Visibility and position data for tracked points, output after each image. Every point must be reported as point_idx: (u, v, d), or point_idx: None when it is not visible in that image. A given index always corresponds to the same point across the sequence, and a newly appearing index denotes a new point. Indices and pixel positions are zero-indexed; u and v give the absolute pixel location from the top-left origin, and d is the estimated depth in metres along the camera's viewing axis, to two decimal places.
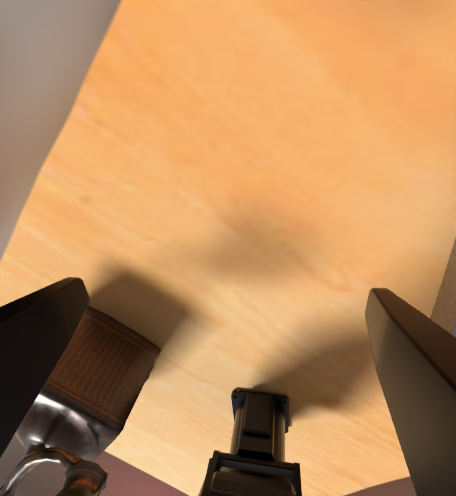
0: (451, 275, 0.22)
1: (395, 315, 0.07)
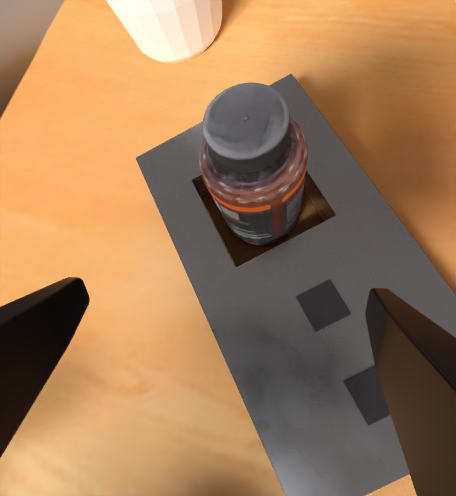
0: None
1: (395, 315, 0.07)
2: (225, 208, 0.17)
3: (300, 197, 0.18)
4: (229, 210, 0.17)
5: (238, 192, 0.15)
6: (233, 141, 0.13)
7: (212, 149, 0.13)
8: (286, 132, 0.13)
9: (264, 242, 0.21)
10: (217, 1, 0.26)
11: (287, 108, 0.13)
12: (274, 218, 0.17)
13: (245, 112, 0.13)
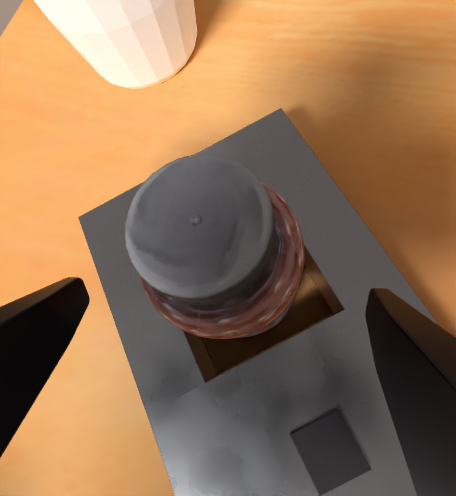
0: None
1: (395, 315, 0.07)
2: None
3: (294, 296, 0.12)
4: None
5: (193, 322, 0.09)
6: (173, 263, 0.07)
7: (139, 273, 0.07)
8: (267, 249, 0.07)
9: (247, 336, 0.16)
10: (188, 15, 0.21)
11: (268, 204, 0.07)
12: (256, 331, 0.12)
13: (197, 209, 0.07)
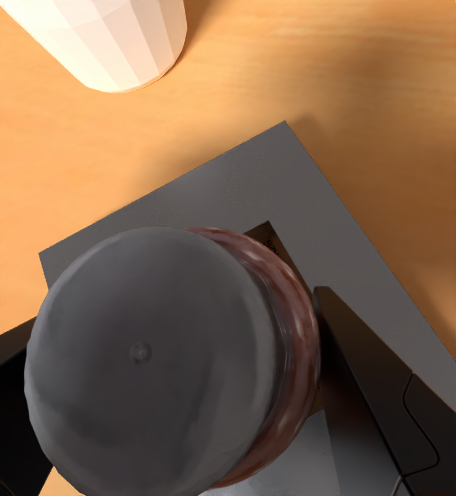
0: None
1: (326, 312, 0.07)
2: None
3: None
4: None
5: None
6: (97, 438, 0.04)
7: (42, 442, 0.04)
8: (264, 417, 0.04)
9: None
10: (174, 7, 0.18)
11: (267, 331, 0.04)
12: None
13: (143, 332, 0.04)
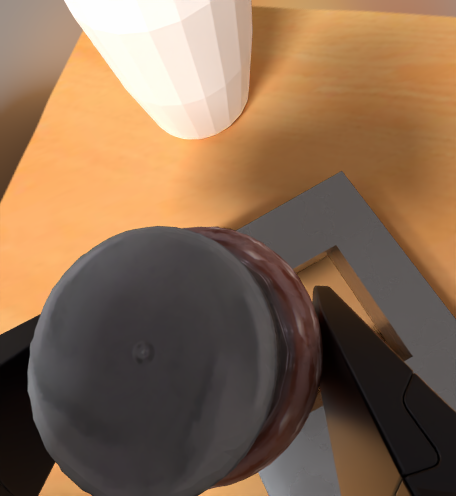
0: None
1: (326, 312, 0.07)
2: None
3: None
4: None
5: None
6: (100, 436, 0.04)
7: (46, 441, 0.04)
8: (266, 416, 0.04)
9: None
10: (247, 78, 0.23)
11: (269, 331, 0.04)
12: None
13: (145, 332, 0.04)
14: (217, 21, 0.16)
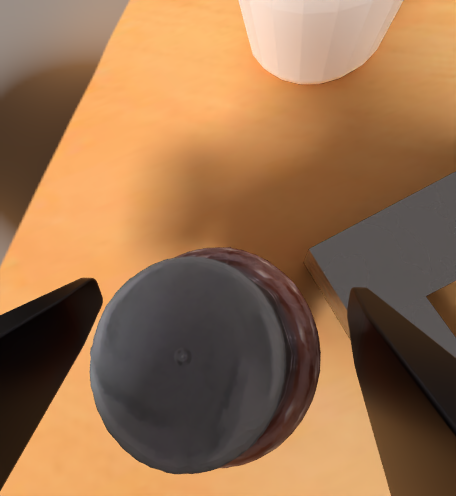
0: None
1: (371, 314, 0.07)
2: None
3: None
4: None
5: None
6: (151, 421, 0.05)
7: (107, 425, 0.06)
8: (277, 405, 0.05)
9: None
10: None
11: (279, 340, 0.05)
12: None
13: (184, 341, 0.06)
14: None
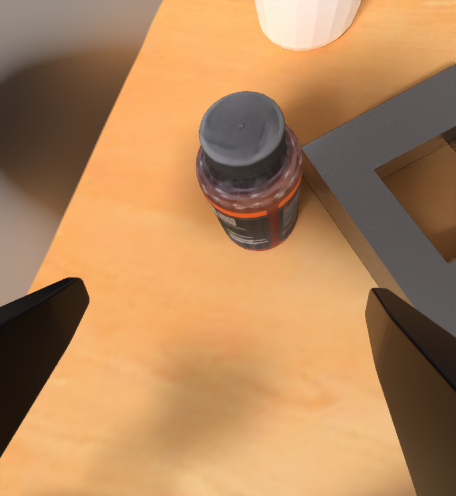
0: None
1: (395, 315, 0.07)
2: (222, 214, 0.17)
3: (296, 203, 0.18)
4: (226, 216, 0.17)
5: (235, 198, 0.15)
6: (229, 148, 0.13)
7: (209, 156, 0.13)
8: (281, 139, 0.13)
9: (261, 247, 0.22)
10: None
11: (282, 116, 0.13)
12: (270, 224, 0.18)
13: (241, 120, 0.13)
14: None
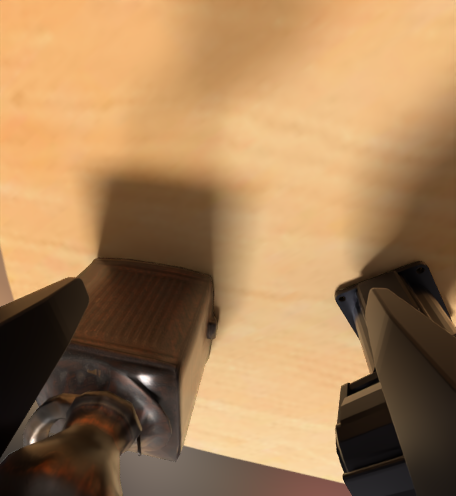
0: None
1: (395, 315, 0.07)
2: None
3: None
4: None
5: None
6: None
7: None
8: None
9: None
10: None
11: None
12: None
13: None
14: None
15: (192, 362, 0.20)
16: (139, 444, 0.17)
